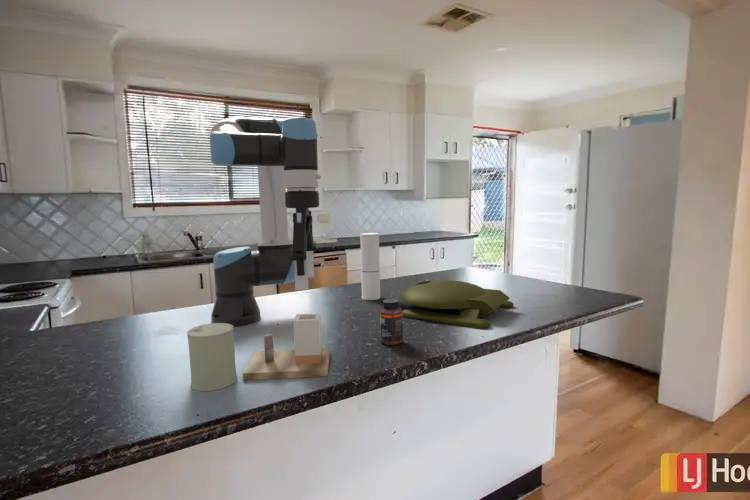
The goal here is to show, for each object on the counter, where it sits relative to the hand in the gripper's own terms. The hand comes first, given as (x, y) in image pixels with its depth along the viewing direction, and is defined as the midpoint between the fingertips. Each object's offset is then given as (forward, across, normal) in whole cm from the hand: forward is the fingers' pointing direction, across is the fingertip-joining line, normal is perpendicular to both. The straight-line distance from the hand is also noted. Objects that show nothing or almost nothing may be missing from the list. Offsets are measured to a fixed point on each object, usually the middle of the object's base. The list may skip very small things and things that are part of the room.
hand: (305, 283), depth 95 cm
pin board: (+19, -2, +4) cm, 19 cm away
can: (+19, -9, +19) cm, 28 cm away
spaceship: (+20, +41, -44) cm, 63 cm away
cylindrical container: (+20, +62, -18) cm, 68 cm away
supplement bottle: (+19, +12, -21) cm, 31 cm away
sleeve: (+17, -2, 0) cm, 18 cm away
